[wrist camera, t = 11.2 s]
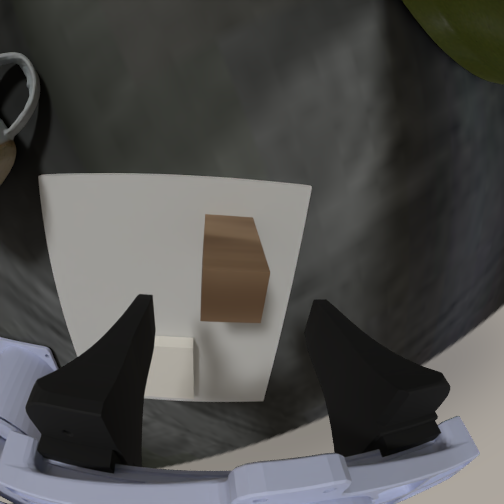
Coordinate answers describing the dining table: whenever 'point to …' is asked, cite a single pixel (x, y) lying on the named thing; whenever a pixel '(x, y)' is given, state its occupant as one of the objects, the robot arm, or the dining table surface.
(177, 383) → the tile
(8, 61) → the ceramic mug
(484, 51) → the plant pot
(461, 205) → the dining table surface
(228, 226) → the wooden block
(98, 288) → the mat
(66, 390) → the robot arm
